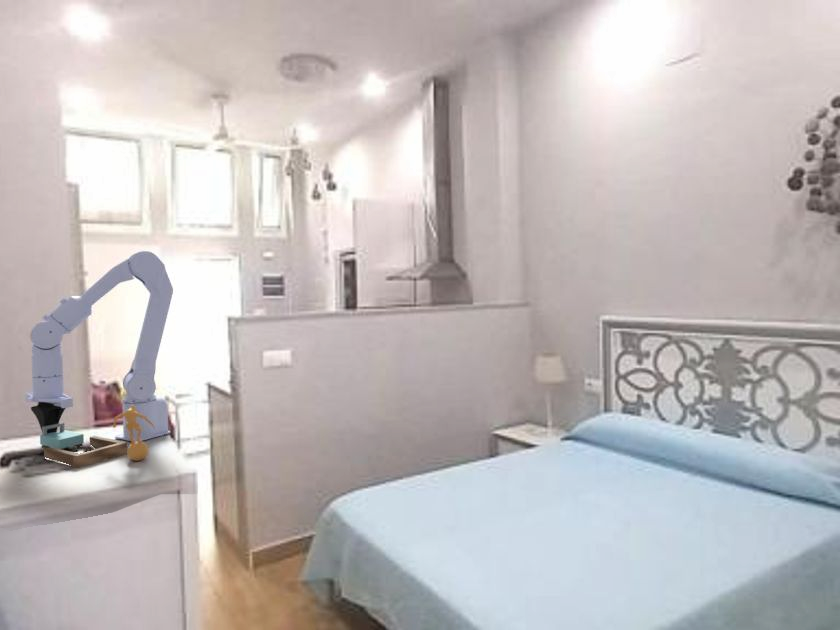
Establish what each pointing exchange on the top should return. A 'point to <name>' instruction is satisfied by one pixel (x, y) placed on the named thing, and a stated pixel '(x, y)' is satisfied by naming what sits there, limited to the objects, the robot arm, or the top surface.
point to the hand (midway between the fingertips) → (49, 436)
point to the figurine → (137, 448)
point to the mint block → (60, 437)
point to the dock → (89, 452)
